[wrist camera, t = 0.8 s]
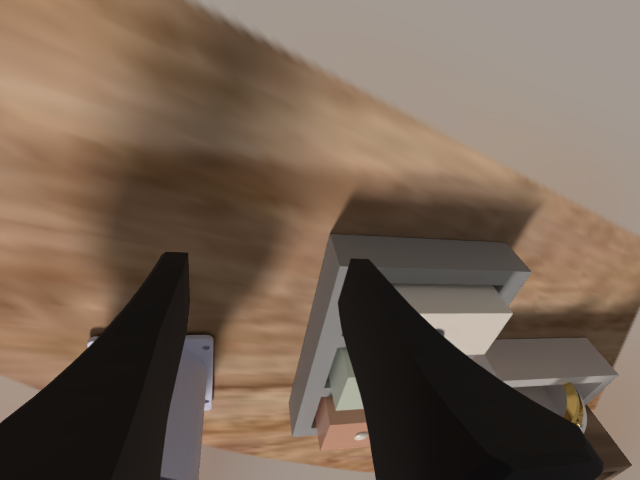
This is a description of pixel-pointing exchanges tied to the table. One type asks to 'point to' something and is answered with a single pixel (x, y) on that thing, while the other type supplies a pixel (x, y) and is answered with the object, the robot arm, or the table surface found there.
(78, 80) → the table surface
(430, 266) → the button board
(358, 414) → the tile two terracotta
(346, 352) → the tile three sage
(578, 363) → the bracelet dish
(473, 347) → the tile one cream
